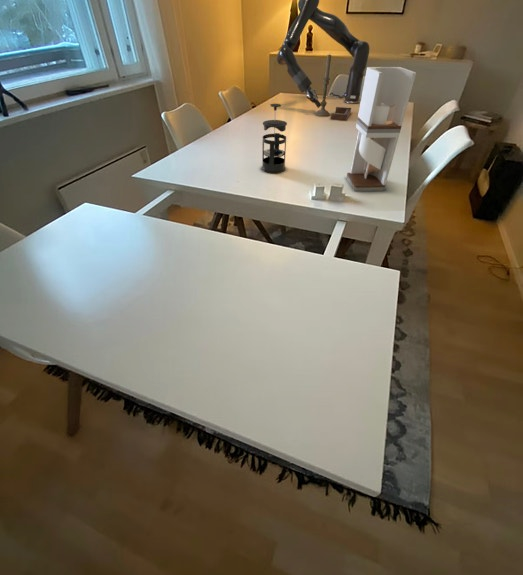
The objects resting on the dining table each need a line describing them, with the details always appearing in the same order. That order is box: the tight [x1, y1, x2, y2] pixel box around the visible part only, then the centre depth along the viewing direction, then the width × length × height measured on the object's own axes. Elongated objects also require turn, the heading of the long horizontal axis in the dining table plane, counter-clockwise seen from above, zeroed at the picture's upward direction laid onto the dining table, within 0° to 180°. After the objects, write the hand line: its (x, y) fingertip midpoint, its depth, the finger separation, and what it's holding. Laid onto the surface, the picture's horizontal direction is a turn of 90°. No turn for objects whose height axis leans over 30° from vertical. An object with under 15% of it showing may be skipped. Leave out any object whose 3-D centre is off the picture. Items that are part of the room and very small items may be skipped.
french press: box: [261, 103, 288, 174], centre depth 120 cm, size 12×9×23 cm
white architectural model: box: [346, 66, 417, 192], centre depth 105 cm, size 11×11×35 cm
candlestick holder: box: [314, 53, 332, 118], centre depth 182 cm, size 9×9×30 cm
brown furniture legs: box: [330, 106, 352, 122], centre depth 188 cm, size 9×18×3 cm, turn 160°
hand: (319, 106), depth 190 cm, fingers closed
